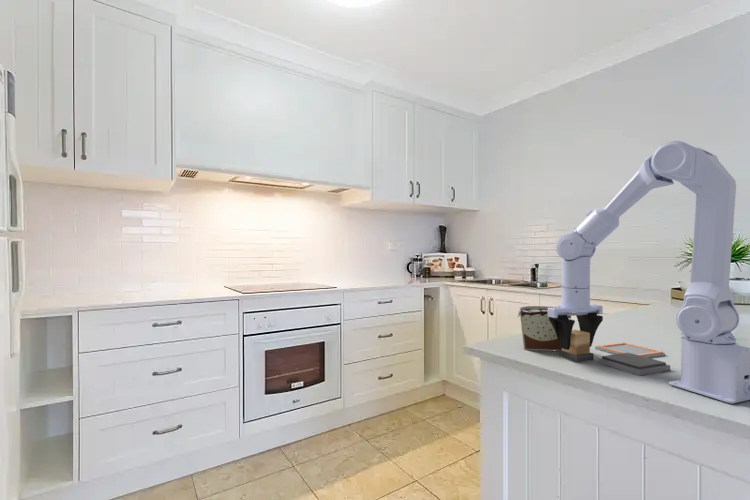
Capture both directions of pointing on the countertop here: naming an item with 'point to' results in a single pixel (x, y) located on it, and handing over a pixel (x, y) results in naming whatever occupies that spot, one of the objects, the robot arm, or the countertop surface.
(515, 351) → the countertop surface
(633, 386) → the countertop surface
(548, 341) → the food container
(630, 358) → the pad
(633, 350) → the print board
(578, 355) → the stamp
